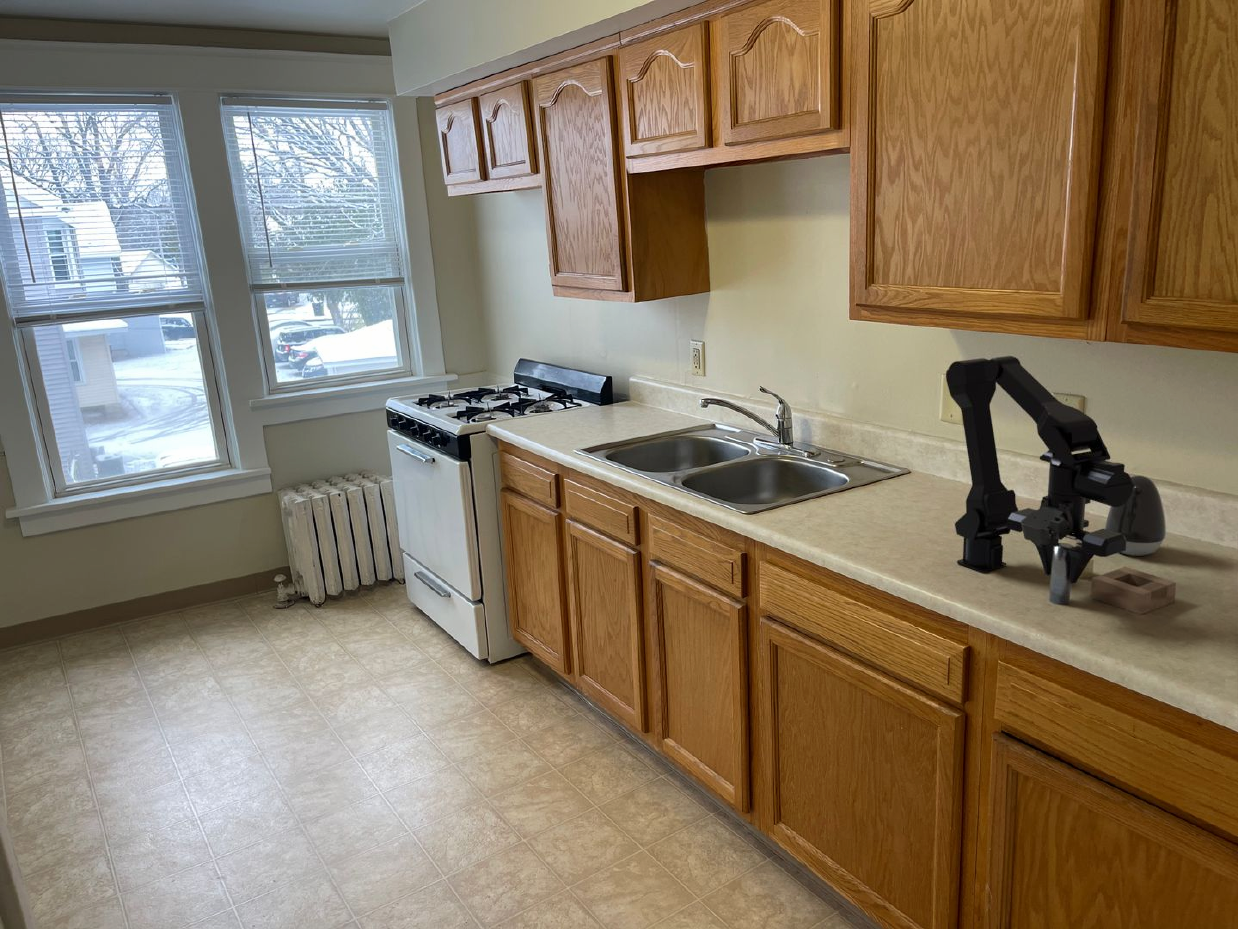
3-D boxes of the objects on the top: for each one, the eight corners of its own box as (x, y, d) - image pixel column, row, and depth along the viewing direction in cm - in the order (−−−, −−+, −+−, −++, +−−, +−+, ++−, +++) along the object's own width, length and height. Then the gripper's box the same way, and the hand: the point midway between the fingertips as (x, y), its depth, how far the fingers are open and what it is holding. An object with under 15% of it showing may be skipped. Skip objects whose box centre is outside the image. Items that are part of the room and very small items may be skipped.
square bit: (1042, 567, 173) (1043, 551, 172) (1054, 563, 174) (1055, 547, 173) (1080, 580, 166) (1081, 563, 165) (1092, 576, 167) (1093, 560, 166)
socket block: (1090, 597, 158) (1092, 578, 157) (1123, 585, 162) (1125, 566, 161) (1141, 614, 150) (1142, 594, 149) (1174, 601, 154) (1176, 582, 153)
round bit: (1044, 600, 158) (1048, 545, 155) (1057, 595, 159) (1061, 541, 157) (1061, 606, 155) (1065, 550, 153) (1073, 601, 156) (1078, 546, 154)
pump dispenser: (1099, 556, 176) (1106, 480, 172) (1106, 539, 184) (1112, 466, 180) (1161, 564, 170) (1169, 486, 166) (1165, 547, 178) (1173, 471, 175)
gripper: (987, 487, 157) (983, 573, 161) (1086, 514, 141) (1079, 608, 145) (1031, 476, 162) (1026, 559, 166) (1132, 500, 146) (1124, 592, 150)
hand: (1060, 579), depth 156 cm, fingers open, 4 cm apart
